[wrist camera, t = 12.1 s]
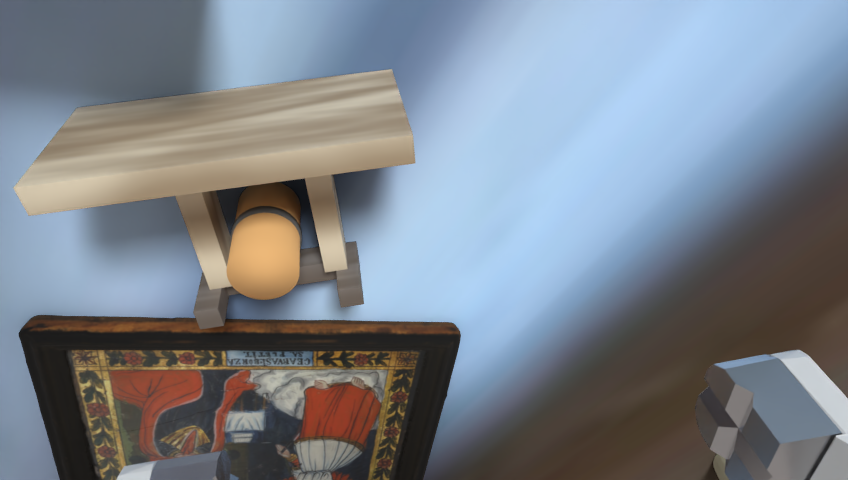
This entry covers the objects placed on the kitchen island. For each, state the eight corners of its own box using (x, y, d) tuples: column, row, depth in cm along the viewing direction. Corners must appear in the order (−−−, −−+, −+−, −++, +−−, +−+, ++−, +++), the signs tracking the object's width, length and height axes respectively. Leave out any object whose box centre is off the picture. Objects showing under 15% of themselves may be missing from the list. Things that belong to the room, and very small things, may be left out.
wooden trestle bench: (76, 107, 34) (13, 188, 26) (391, 69, 35) (412, 135, 28) (156, 288, 42) (124, 387, 34) (410, 250, 43) (430, 338, 36)
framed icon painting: (432, 541, 68) (436, 567, 66) (105, 580, 63) (97, 609, 61) (460, 282, 47) (468, 306, 45) (-31, 308, 42) (-52, 337, 39)
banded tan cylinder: (229, 184, 38) (215, 249, 32) (295, 175, 38) (293, 237, 33) (245, 237, 40) (235, 305, 35) (307, 228, 41) (307, 294, 35)
